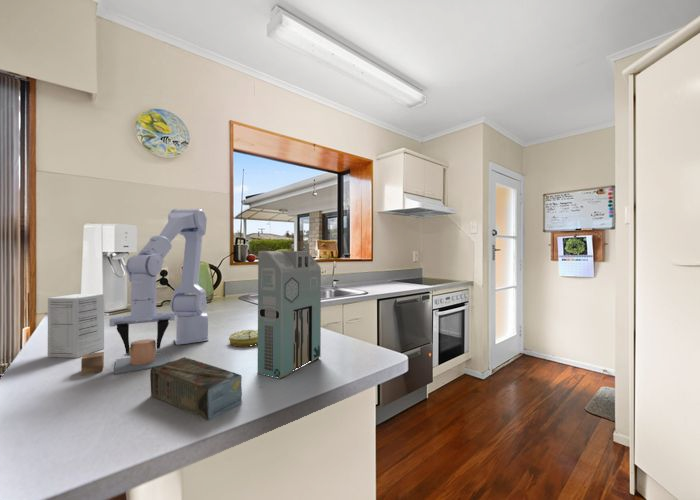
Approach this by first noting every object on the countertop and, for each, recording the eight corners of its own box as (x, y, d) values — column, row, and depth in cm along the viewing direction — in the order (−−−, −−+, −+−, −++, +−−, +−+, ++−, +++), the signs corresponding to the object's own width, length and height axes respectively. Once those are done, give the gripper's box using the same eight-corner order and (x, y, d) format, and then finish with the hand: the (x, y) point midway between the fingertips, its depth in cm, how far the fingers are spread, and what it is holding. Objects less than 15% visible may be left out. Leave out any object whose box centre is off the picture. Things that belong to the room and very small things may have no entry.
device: (281, 379, 74) (282, 251, 74) (256, 373, 78) (257, 251, 78) (320, 359, 88) (321, 251, 89) (298, 355, 92) (299, 251, 92)
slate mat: (167, 353, 93) (167, 351, 93) (170, 365, 83) (170, 363, 83) (116, 360, 87) (116, 359, 87) (113, 374, 77) (113, 372, 77)
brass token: (140, 350, 96) (140, 345, 96) (140, 353, 93) (140, 347, 93) (128, 352, 94) (128, 347, 94) (128, 355, 92) (128, 349, 92)
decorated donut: (243, 338, 111) (243, 327, 111) (269, 340, 108) (269, 329, 108) (222, 346, 101) (222, 334, 101) (251, 349, 98) (251, 337, 98)
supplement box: (105, 348, 98) (106, 293, 98) (76, 358, 88) (77, 297, 89) (77, 347, 99) (77, 293, 99) (45, 357, 89) (46, 297, 90)
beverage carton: (206, 423, 55) (207, 385, 55) (147, 397, 65) (148, 365, 65) (243, 404, 62) (243, 370, 62) (184, 384, 72) (185, 354, 72)
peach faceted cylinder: (154, 355, 89) (154, 338, 89) (155, 362, 84) (156, 343, 84) (130, 359, 86) (130, 341, 86) (130, 366, 81) (130, 346, 81)
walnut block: (103, 367, 82) (103, 351, 82) (102, 372, 79) (102, 355, 79) (83, 370, 80) (83, 354, 80) (81, 375, 76) (81, 358, 76)
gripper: (108, 303, 78) (108, 359, 78) (176, 298, 86) (175, 349, 86) (110, 299, 84) (110, 351, 83) (173, 295, 92) (173, 343, 92)
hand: (143, 350), depth 85 cm, fingers open, 6 cm apart
